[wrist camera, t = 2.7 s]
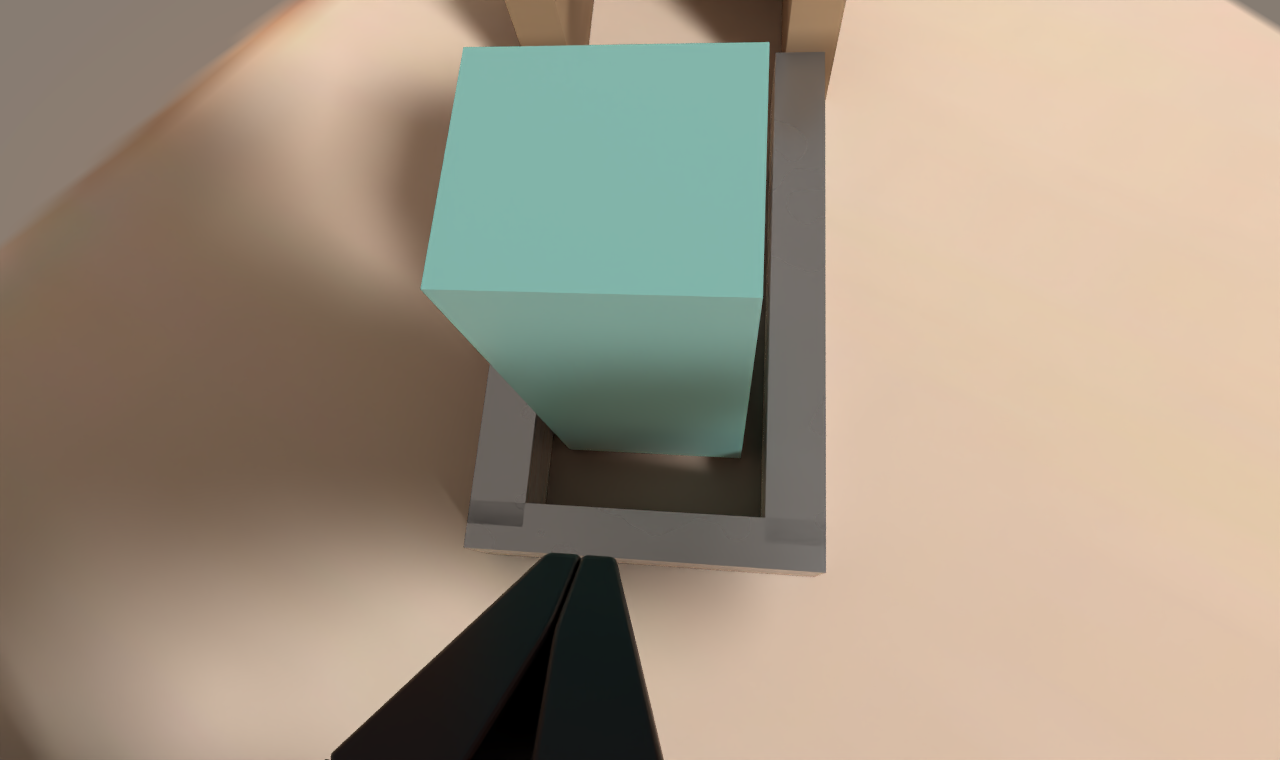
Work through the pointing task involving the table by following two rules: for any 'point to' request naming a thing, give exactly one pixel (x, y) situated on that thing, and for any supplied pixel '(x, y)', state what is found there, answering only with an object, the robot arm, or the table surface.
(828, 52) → the socket
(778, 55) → the rails
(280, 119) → the table surface
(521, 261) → the teal block
